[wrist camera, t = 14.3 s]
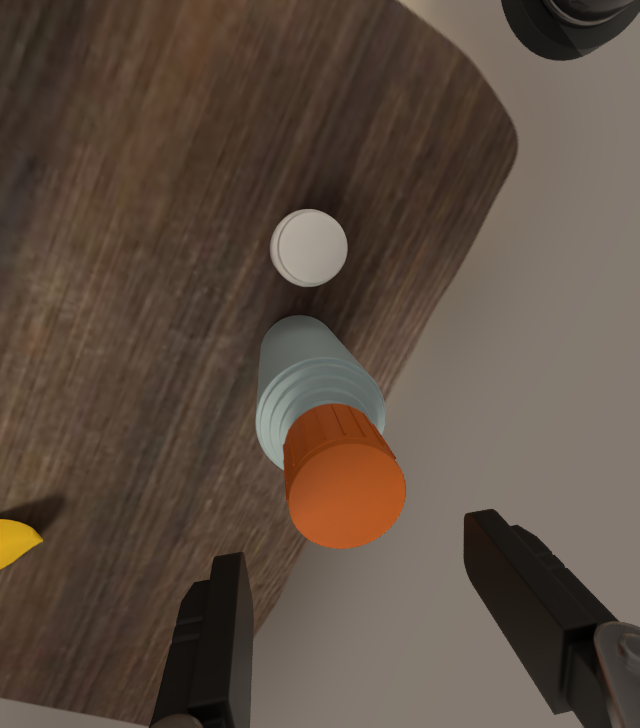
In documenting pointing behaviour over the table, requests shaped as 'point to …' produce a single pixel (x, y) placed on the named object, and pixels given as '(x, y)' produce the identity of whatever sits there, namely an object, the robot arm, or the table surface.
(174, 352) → the table surface
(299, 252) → the pill bottle
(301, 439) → the cap
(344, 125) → the table surface
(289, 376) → the water bottle
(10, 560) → the banana peel
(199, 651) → the robot arm
